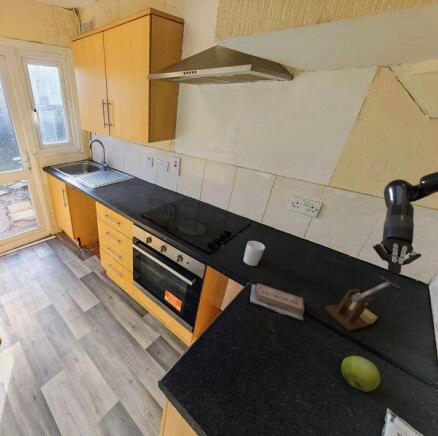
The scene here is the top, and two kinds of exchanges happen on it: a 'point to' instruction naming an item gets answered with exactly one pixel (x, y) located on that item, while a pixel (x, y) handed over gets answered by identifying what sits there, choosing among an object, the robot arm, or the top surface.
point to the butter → (365, 314)
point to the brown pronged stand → (349, 311)
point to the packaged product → (277, 301)
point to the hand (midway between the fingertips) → (394, 274)
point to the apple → (360, 373)
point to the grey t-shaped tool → (375, 289)
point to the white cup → (253, 252)
